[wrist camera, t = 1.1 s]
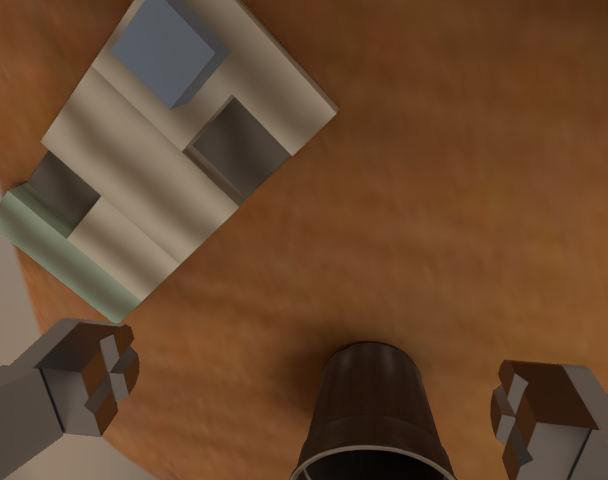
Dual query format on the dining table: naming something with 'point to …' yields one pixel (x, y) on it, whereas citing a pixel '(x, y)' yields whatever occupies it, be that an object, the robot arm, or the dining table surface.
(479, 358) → the dining table surface
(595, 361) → the dining table surface
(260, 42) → the wooden cutout board
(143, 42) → the slate block
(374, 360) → the plant pot
